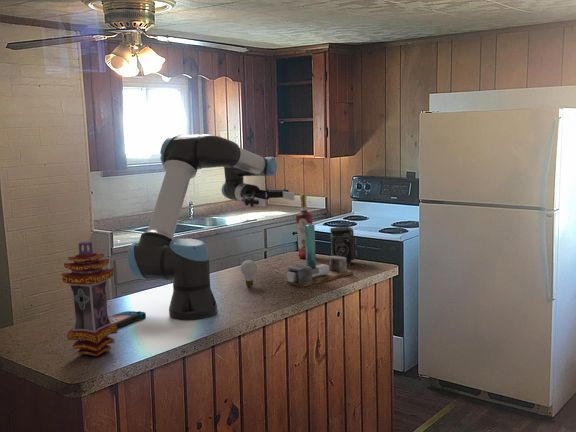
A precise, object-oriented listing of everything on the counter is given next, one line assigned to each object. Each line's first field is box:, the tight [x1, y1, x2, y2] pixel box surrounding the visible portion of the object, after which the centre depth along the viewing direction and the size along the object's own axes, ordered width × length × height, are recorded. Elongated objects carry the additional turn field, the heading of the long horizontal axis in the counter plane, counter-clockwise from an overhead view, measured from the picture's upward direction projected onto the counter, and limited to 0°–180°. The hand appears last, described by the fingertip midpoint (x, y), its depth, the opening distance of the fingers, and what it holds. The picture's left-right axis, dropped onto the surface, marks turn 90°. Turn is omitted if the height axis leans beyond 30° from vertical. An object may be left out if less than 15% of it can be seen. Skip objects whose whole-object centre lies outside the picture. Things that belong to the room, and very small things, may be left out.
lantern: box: [61, 241, 118, 357], centre depth 165 cm, size 10×9×30 cm
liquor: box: [295, 193, 313, 260], centre depth 277 cm, size 7×7×28 cm
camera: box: [329, 226, 358, 266], centre depth 262 cm, size 10×10×15 cm
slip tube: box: [286, 223, 330, 282], centre depth 234 cm, size 18×4×19 cm, turn 130°
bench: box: [286, 255, 354, 288], centre depth 239 cm, size 26×9×7 cm, turn 130°
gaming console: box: [108, 310, 147, 329], centre depth 191 cm, size 24×2×10 cm
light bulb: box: [240, 259, 258, 288], centre depth 230 cm, size 6×6×10 cm
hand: (279, 199), depth 237 cm, fingers open, 13 cm apart
